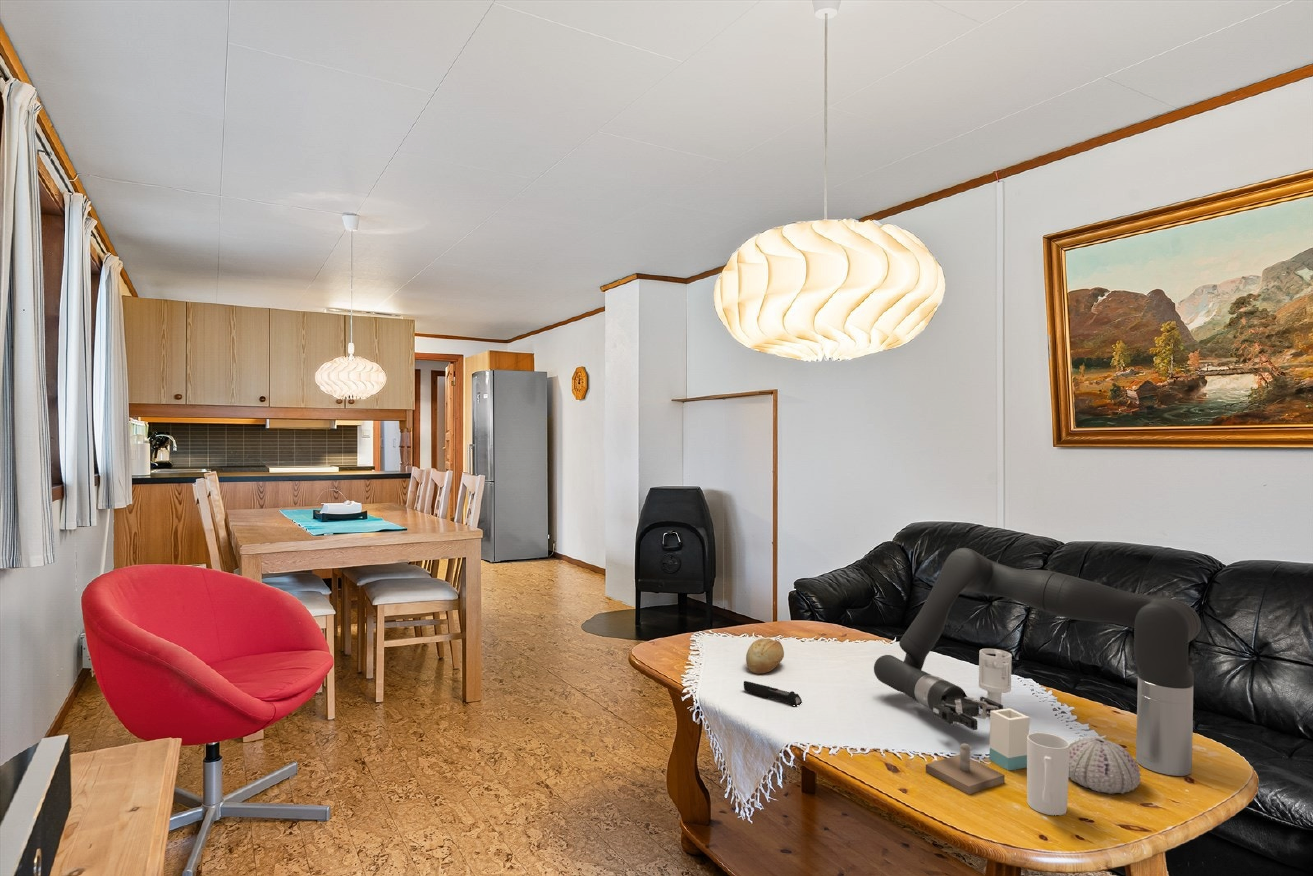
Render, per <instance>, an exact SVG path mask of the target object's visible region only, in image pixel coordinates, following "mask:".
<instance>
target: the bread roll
mask: <svg viewBox="0 0 1313 876" xmlns="http://www.w3.org/2000/svg"><path fill="white" fill-rule="evenodd" d="M745 656H746V657H745V663H746V665H747V668H748V669H749V671H750V672H751V673H753V674H755V675H760V674H761V675H762V674H766V673H769V672H771V671H772V670H774V669H775V668H776V667H777V666H779V664H780V663H781V662H782V660H783V659H784V658H785V651H784V647H783V644H782V643H781V641H779V640H777V639H774V640H773V639H771V638H758V639H756V640H754V641H753V642H752V643H751V645H750V646H749V647H748V649H747V652H746V655H745Z"/></svg>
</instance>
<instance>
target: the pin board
mask: <svg viewBox="0 0 1313 876" xmlns="http://www.w3.org/2000/svg"><path fill="white" fill-rule="evenodd" d="M925 773H927V774H929V775H931V776H933V777H935V778H936V779H939V781H942V782H944V783H946V784H948V785H949V786H952V787H954V789H955V788H956V789H957V790H959V791H961V792H963V793H965V794H968V795H971V794H974V793H977V792H980V791H984V790H987V789H989V788H992V787H995V786H998V785H1001V784H1004V783H1005V782H1006V781H1005V777H1006V776H1005V774H1004V773H1001V772H999V771H998V770H995V769H994V768H990V767H989V766H987V765H985V764H982V763H980V762H979V761H976V760H975V759H972V758H971V747H970V745H969V744H968V743H965V742H964V743H961V744H960V746H959V754H957V755H956V754H955V755H953V756H949V757H947V758H942V759H939V760H936V761H933V762H930V763H926V764H925Z"/></svg>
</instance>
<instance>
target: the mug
mask: <svg viewBox="0 0 1313 876" xmlns="http://www.w3.org/2000/svg"><path fill="white" fill-rule="evenodd" d="M1070 744H1071V743H1070V742H1069V741H1068V740H1067V739H1065V738H1063V737H1061V736H1059V735H1056V734H1052V733H1048V732H1032V733H1029V735H1028V736H1027V768H1026V784H1027V785H1026V795H1027V796H1026V797H1027V799H1026V800H1027V801H1026V802H1027V804H1028V807H1030V808H1031V809H1032V810H1034V811H1036V812H1038V813H1040V814H1043V815H1047V816H1054V815H1055V816H1056V815H1059V816H1063V815H1065V814H1066V813H1067V809H1068V799H1069V798H1068V795H1069V794H1068V793H1069V778H1070V777H1069V757H1070ZM1056 817H1057V816H1056Z"/></svg>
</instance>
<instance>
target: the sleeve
mask: <svg viewBox="0 0 1313 876" xmlns="http://www.w3.org/2000/svg"><path fill="white" fill-rule="evenodd" d="M989 714H990V718H989V754H988V755H989V757H988V760H989V761H991V760H992V761H993V763H994V764H996V765H998V766H999V767H1000V768H1002V769H1004V770H1006V769H1007V770H1006V771H1015V770H1019V769H1027V736H1028V735H1029V734H1030V717H1029V716H1027V715H1025V714H1023V713H1021V712H1019V711H1017V710H1015V709H1012V708H1011V707H1009V708H1003V709H1001V710H993V711H990V713H989ZM992 761H991V762H992Z"/></svg>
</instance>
